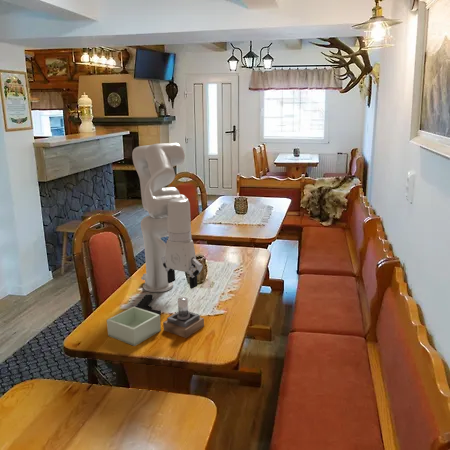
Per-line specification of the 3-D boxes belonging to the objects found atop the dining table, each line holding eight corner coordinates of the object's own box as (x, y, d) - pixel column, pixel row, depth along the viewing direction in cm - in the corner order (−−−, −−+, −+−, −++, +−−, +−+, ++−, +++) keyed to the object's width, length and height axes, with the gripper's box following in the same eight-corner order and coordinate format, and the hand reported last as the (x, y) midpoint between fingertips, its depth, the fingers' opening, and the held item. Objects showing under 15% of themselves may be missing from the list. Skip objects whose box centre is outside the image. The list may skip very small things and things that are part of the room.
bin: (108, 335, 159) (106, 319, 157) (134, 321, 169) (133, 306, 167) (134, 346, 152) (133, 329, 150) (160, 330, 162) (159, 314, 160)
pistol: (171, 294, 186) (144, 292, 188) (155, 315, 167) (125, 312, 169) (171, 302, 187) (144, 299, 189) (155, 324, 168) (126, 321, 170)
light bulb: (174, 321, 162) (173, 299, 160) (182, 316, 165) (181, 295, 163) (184, 324, 160) (183, 302, 157) (192, 319, 163) (191, 298, 161)
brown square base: (163, 330, 162) (163, 318, 161) (182, 319, 170) (181, 307, 169) (186, 337, 157) (185, 325, 155) (204, 326, 164) (203, 314, 163)
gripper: (152, 235, 156) (156, 283, 160) (193, 242, 147) (195, 293, 151) (167, 230, 162) (170, 276, 166) (207, 236, 153) (209, 285, 157)
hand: (182, 284), depth 159 cm, fingers open, 9 cm apart
